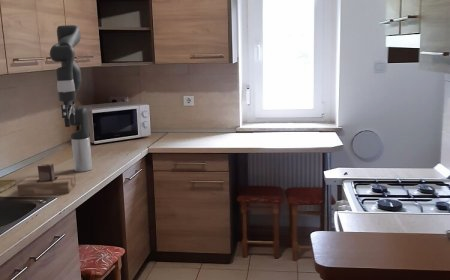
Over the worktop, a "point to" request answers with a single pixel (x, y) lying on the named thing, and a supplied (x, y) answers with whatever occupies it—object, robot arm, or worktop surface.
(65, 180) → the slot beam
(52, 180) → the box
